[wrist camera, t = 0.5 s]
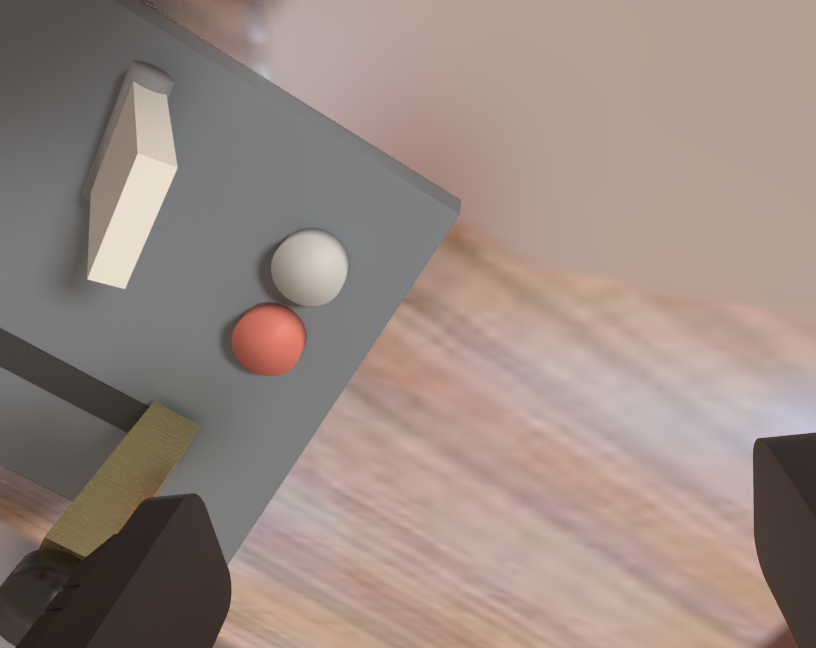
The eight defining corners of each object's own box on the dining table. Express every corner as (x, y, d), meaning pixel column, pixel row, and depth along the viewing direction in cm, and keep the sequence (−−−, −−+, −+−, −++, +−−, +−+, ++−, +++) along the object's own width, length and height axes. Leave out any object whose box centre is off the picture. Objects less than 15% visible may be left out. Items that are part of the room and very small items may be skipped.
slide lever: (146, 396, 33) (2, 570, 23) (207, 429, 33) (91, 612, 23) (121, 448, 34) (-25, 631, 24) (180, 478, 35) (59, 670, 25)
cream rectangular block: (130, 55, 26) (135, 139, 20) (173, 74, 26) (188, 159, 21) (83, 182, 28) (76, 287, 23) (124, 196, 29) (126, 299, 24)
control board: (17, -76, 27) (-40, -83, 24) (461, 199, 29) (458, 223, 27) (-106, 376, 37) (-156, 409, 34) (233, 548, 40) (213, 592, 37)
